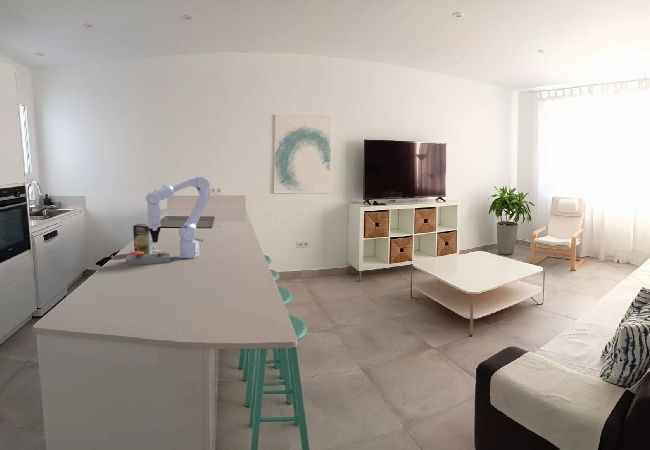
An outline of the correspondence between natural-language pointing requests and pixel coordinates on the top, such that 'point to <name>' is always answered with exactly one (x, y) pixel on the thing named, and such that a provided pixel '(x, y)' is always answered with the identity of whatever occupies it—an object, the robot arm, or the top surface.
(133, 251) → the red rocker
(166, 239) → the top surface
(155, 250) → the white rocker
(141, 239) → the coffee box
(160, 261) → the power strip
